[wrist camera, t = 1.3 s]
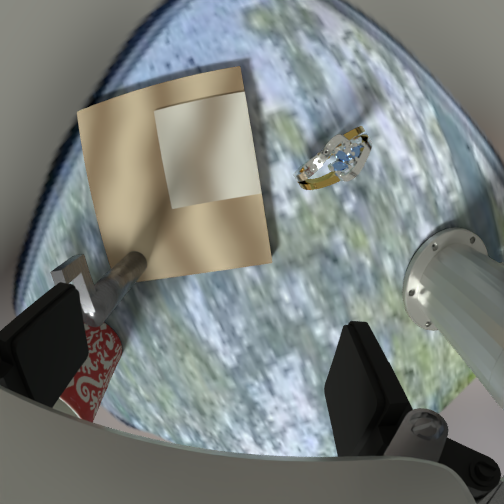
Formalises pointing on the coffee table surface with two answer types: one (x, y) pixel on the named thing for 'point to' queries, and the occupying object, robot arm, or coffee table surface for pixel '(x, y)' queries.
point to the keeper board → (177, 176)
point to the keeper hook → (100, 284)
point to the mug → (92, 374)
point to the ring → (343, 151)
